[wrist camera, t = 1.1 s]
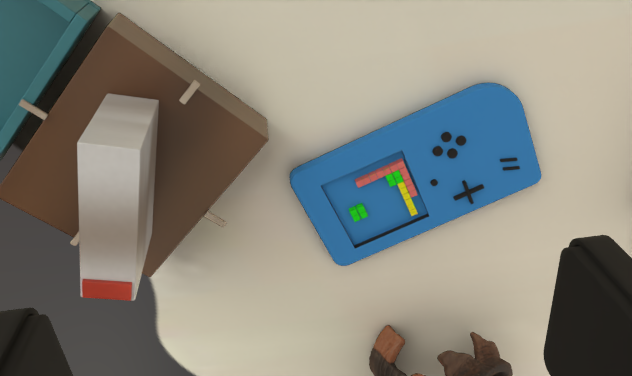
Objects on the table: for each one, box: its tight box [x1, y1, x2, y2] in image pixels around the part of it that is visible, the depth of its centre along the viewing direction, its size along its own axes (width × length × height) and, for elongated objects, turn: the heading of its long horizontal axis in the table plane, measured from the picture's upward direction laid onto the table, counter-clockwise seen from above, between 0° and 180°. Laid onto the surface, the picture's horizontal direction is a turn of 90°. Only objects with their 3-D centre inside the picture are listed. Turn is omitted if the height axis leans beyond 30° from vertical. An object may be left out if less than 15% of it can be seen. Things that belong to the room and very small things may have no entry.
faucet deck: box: [0, 13, 268, 277], centre depth 32 cm, size 13×13×3 cm
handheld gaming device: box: [290, 83, 541, 266], centre depth 36 cm, size 8×1×15 cm
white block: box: [77, 94, 159, 300], centre depth 28 cm, size 8×3×6 cm, turn 170°
